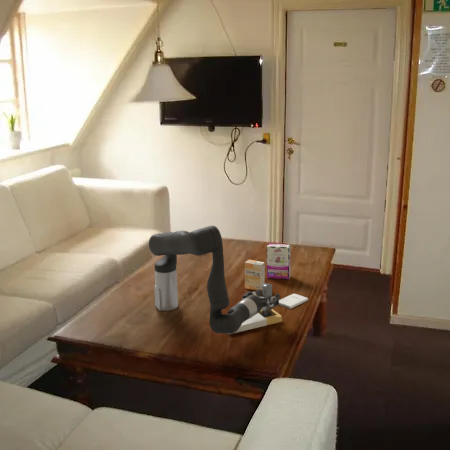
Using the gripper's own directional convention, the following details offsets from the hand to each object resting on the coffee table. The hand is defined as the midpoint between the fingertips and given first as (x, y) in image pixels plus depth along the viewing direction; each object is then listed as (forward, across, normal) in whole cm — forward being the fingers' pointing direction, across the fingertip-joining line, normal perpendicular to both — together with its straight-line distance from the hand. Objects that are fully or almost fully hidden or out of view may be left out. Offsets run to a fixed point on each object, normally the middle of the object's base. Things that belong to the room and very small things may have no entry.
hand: (269, 293), depth 237 cm
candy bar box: (+41, +19, +11) cm, 47 cm away
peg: (-2, 0, +10) cm, 11 cm away
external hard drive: (+19, -1, +11) cm, 22 cm away
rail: (-9, +4, +10) cm, 14 cm away
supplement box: (+23, +21, +11) cm, 33 cm away
